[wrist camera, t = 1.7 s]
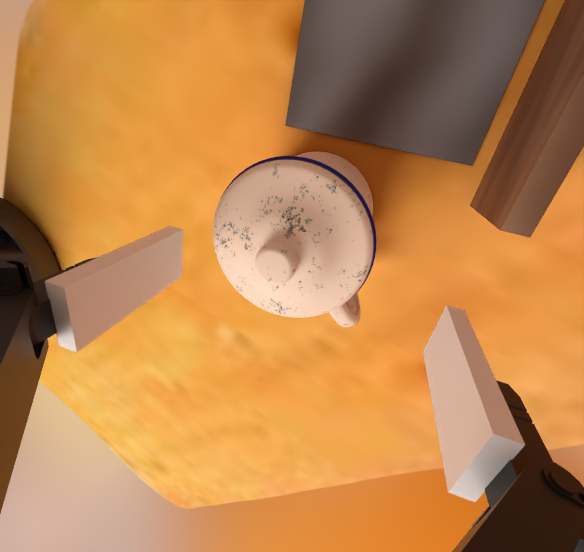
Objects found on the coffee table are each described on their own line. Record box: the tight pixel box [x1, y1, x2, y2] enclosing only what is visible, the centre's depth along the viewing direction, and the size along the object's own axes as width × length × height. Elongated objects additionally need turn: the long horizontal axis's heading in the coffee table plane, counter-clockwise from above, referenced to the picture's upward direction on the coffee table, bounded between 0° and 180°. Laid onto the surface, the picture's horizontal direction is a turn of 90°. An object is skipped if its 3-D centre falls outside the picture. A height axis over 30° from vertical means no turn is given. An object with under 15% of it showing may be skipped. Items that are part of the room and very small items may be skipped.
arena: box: [285, 0, 584, 237], centre depth 15 cm, size 16×18×6 cm
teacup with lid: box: [213, 151, 376, 327], centre depth 20 cm, size 12×9×12 cm
